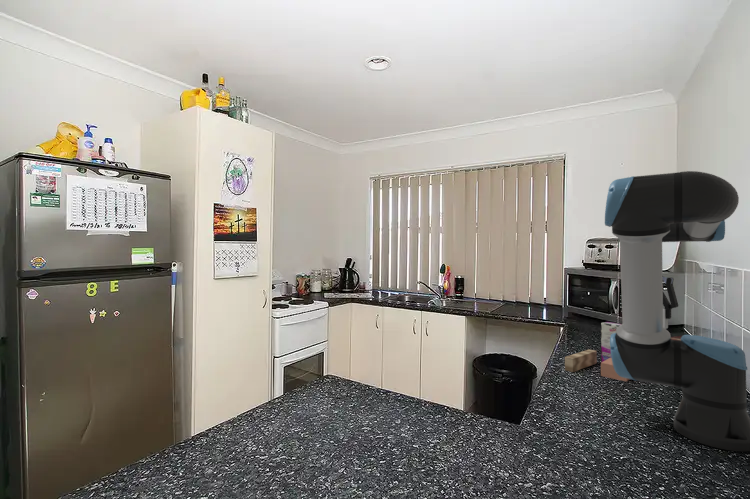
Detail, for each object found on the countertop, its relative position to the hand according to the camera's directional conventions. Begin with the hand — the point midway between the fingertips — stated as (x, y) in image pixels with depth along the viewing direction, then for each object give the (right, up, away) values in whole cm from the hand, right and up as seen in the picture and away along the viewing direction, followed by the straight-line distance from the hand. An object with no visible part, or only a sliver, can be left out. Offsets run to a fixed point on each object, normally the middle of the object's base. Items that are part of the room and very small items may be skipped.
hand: (648, 326), depth 128 cm
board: (-13, -20, +18) cm, 30 cm away
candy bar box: (+2, -20, +19) cm, 28 cm away
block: (-6, -20, +8) cm, 22 cm away
